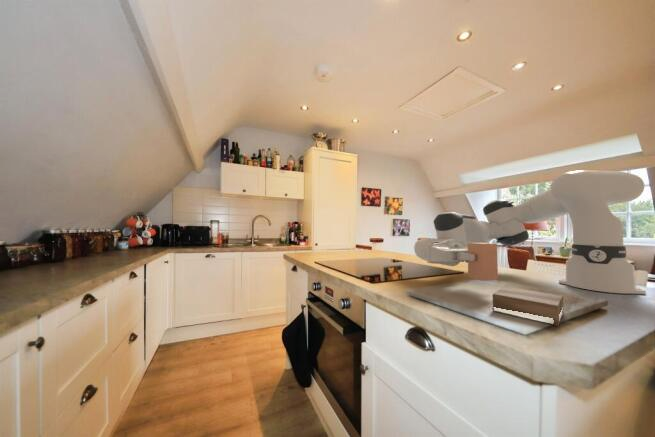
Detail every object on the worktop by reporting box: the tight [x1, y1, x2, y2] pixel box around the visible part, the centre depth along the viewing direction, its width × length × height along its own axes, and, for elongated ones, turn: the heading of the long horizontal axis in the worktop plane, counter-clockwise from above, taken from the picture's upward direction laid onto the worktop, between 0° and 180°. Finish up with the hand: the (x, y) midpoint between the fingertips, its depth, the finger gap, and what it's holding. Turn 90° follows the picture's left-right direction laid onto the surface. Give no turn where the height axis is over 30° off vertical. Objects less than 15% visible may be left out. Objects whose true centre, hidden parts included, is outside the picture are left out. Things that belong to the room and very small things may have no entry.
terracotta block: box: [467, 242, 499, 282], centre depth 68 cm, size 5×5×10 cm
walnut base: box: [492, 286, 564, 327], centre depth 55 cm, size 11×11×4 cm
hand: (484, 257), depth 67 cm, fingers closed on terracotta block, 5 cm apart
